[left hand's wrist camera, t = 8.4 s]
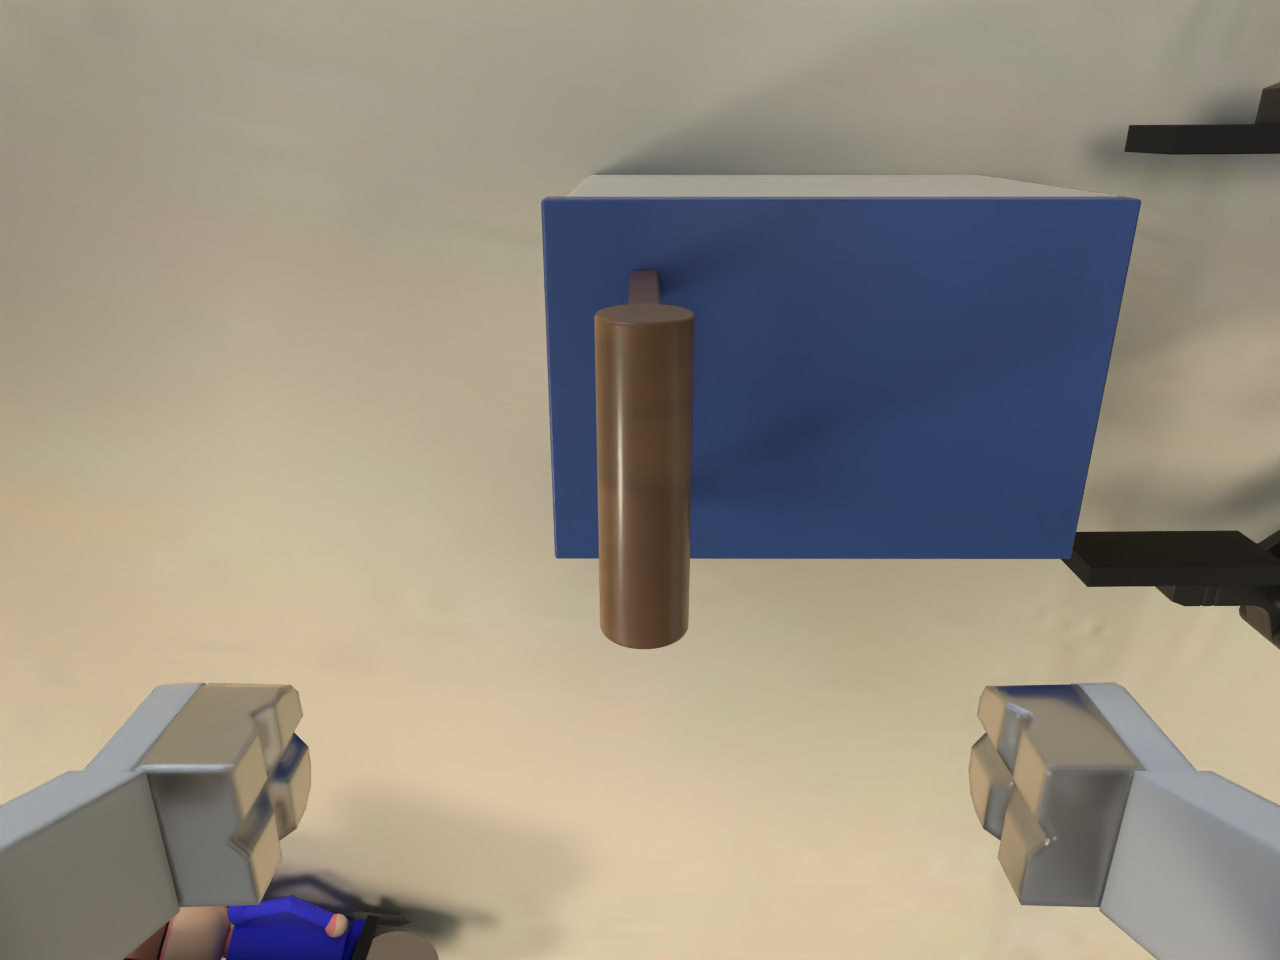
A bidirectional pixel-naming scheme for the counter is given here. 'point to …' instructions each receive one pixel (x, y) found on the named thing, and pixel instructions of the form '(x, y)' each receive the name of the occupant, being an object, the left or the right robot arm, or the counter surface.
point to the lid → (821, 381)
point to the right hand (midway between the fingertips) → (1105, 367)
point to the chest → (816, 186)
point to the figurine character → (281, 935)
